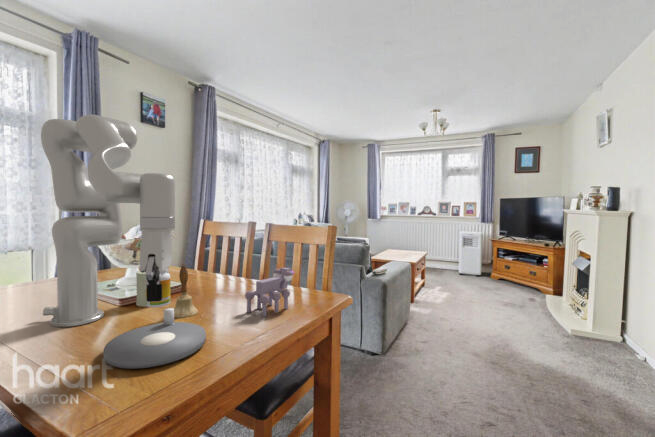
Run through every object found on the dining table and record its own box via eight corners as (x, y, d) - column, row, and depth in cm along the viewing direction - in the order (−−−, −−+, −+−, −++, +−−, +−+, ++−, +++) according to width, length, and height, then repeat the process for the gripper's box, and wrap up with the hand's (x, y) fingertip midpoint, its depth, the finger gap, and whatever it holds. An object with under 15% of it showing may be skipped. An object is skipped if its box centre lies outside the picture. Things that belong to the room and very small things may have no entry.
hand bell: (187, 319, 96) (187, 268, 95) (164, 316, 98) (164, 267, 97) (203, 310, 104) (203, 263, 103) (181, 308, 106) (181, 262, 105)
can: (144, 308, 105) (144, 273, 104) (130, 303, 110) (130, 270, 109) (170, 301, 113) (170, 269, 112) (156, 297, 117) (156, 266, 117)
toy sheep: (284, 297, 120) (286, 263, 119) (304, 305, 113) (306, 268, 112) (242, 311, 104) (243, 271, 103) (263, 320, 97) (265, 278, 96)
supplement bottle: (175, 302, 77) (175, 264, 77) (155, 309, 72) (155, 268, 72) (161, 299, 79) (160, 262, 79) (140, 305, 75) (140, 266, 74)
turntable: (83, 373, 63) (83, 347, 63) (126, 330, 85) (126, 310, 84) (197, 362, 68) (197, 338, 68) (211, 324, 90) (211, 305, 90)
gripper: (152, 222, 83) (152, 288, 83) (126, 226, 66) (127, 309, 67) (182, 222, 84) (182, 287, 85) (165, 226, 68) (165, 307, 68)
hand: (158, 296), depth 76 cm, fingers closed on supplement bottle, 5 cm apart
